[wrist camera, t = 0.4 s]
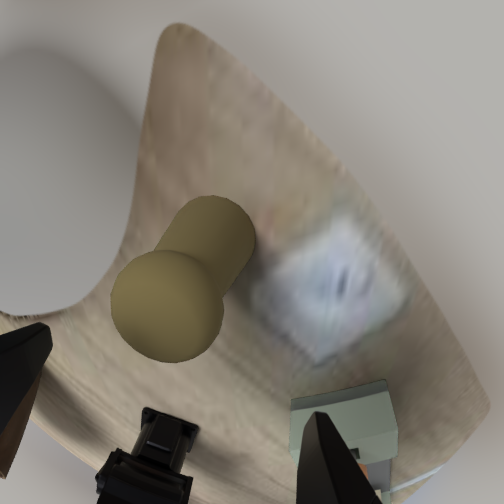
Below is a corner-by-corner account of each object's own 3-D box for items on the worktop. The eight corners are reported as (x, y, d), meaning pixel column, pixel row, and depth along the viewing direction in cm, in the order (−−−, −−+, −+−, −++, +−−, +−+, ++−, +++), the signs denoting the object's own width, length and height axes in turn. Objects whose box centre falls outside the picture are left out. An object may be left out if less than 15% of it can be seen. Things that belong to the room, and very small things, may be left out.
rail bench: (388, 493, 35) (391, 523, 30) (333, 504, 37) (333, 534, 32) (385, 379, 26) (398, 429, 20) (291, 399, 28) (288, 450, 22)
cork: (265, 268, 23) (243, 379, 13) (187, 282, 24) (126, 383, 14) (242, 185, 21) (194, 247, 11) (161, 207, 22) (68, 275, 12)
